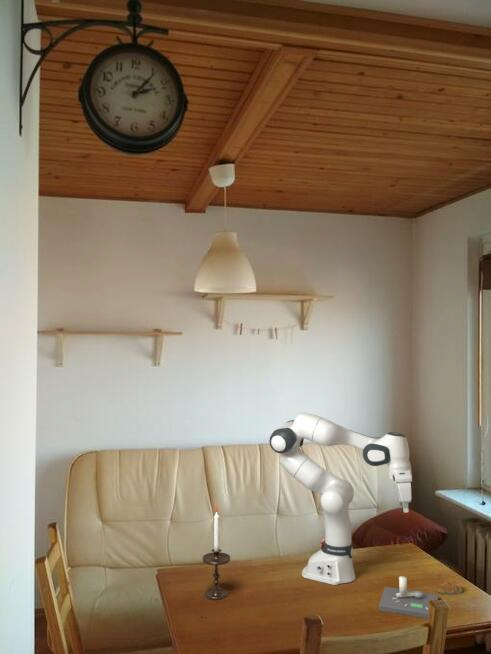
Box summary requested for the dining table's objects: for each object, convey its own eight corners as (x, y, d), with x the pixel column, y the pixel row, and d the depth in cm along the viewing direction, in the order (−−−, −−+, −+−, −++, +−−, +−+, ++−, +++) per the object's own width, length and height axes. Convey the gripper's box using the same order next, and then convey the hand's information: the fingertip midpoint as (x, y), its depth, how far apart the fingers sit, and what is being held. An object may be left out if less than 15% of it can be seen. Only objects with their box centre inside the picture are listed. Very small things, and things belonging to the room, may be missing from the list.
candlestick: (196, 595, 213) (197, 504, 215) (216, 586, 221) (216, 498, 223) (215, 603, 205) (216, 509, 207) (235, 594, 213) (236, 503, 215)
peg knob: (420, 594, 210) (419, 574, 210) (424, 598, 206) (424, 578, 207) (394, 595, 208) (394, 576, 209) (399, 599, 205) (398, 579, 205)
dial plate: (378, 610, 200) (378, 605, 200) (384, 590, 217) (384, 586, 217) (436, 619, 193) (436, 614, 193) (437, 598, 210) (437, 594, 210)
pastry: (443, 597, 212) (443, 586, 212) (432, 590, 218) (432, 580, 219) (463, 593, 215) (463, 583, 215) (451, 586, 221) (451, 577, 222)
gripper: (388, 469, 228) (392, 502, 227) (395, 479, 208) (399, 516, 206) (404, 468, 227) (407, 501, 226) (412, 478, 207) (416, 515, 206)
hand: (404, 508), depth 216 cm, fingers open, 8 cm apart
